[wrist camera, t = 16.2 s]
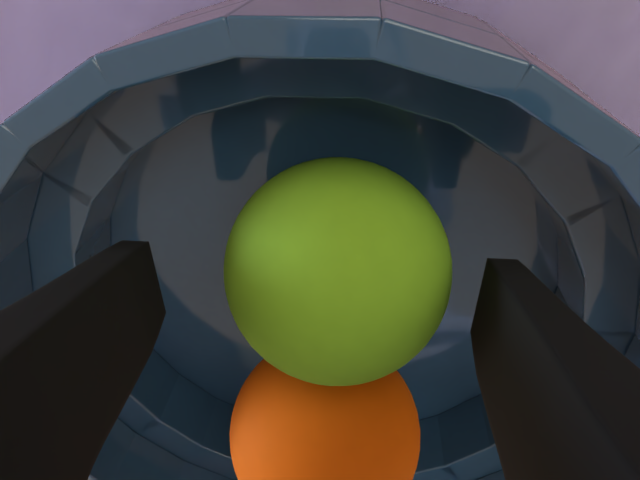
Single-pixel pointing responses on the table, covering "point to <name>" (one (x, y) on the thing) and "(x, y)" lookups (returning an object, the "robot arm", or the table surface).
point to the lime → (337, 271)
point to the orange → (323, 429)
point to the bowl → (304, 145)
